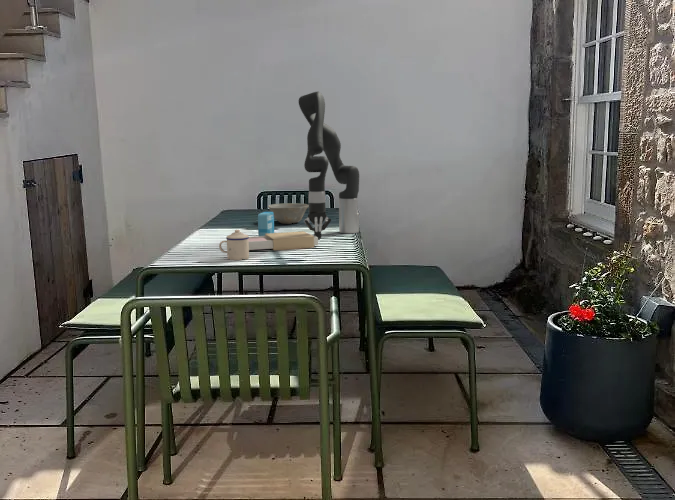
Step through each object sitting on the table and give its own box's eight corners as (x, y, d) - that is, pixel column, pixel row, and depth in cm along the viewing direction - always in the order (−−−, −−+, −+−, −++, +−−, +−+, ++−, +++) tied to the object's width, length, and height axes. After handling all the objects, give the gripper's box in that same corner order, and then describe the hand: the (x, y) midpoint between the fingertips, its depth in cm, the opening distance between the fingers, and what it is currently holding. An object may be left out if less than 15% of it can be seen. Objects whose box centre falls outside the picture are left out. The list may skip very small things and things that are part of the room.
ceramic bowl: (260, 224, 365) (259, 206, 363) (284, 219, 384) (284, 202, 382) (292, 227, 353) (292, 208, 352) (316, 221, 373) (316, 204, 371)
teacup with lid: (251, 256, 271) (250, 228, 269) (247, 260, 262) (246, 231, 260) (222, 256, 271) (220, 228, 269) (217, 260, 262) (216, 231, 260)
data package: (267, 239, 312) (266, 214, 310) (258, 239, 313) (257, 214, 311) (274, 235, 324) (273, 211, 322) (265, 235, 325) (264, 211, 323)
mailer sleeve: (303, 242, 304) (303, 231, 303) (313, 247, 289) (313, 236, 288) (265, 244, 298) (265, 233, 297) (273, 250, 283) (273, 238, 283)
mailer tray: (309, 240, 304) (309, 233, 303) (318, 245, 291) (317, 237, 290) (240, 245, 293) (239, 237, 293) (246, 250, 281) (245, 242, 280)
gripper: (328, 200, 300) (328, 237, 303) (300, 201, 296) (301, 239, 299) (333, 201, 293) (334, 240, 296) (305, 202, 289) (305, 242, 292)
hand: (317, 239), depth 297 cm, fingers closed
